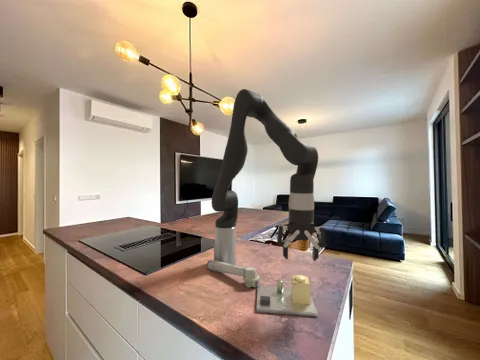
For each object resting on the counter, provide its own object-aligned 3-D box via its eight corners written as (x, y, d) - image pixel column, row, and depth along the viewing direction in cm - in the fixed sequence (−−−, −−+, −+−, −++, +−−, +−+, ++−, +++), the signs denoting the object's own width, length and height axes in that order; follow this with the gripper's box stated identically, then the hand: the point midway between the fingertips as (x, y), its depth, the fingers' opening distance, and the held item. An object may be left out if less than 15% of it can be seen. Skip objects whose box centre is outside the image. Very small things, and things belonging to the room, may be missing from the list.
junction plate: (256, 312, 59) (256, 291, 59) (257, 288, 72) (257, 271, 72) (317, 316, 57) (317, 295, 57) (307, 291, 70) (307, 273, 70)
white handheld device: (214, 257, 91) (261, 264, 75) (215, 273, 90) (263, 283, 75) (205, 261, 87) (252, 269, 71) (206, 277, 86) (254, 289, 70)
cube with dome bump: (293, 303, 62) (293, 281, 62) (291, 293, 67) (291, 273, 67) (310, 304, 61) (310, 282, 61) (306, 294, 66) (307, 274, 66)
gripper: (278, 208, 61) (278, 262, 61) (328, 209, 60) (327, 265, 60) (277, 205, 69) (276, 253, 69) (321, 206, 67) (320, 255, 67)
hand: (300, 259), depth 64 cm, fingers open, 8 cm apart
